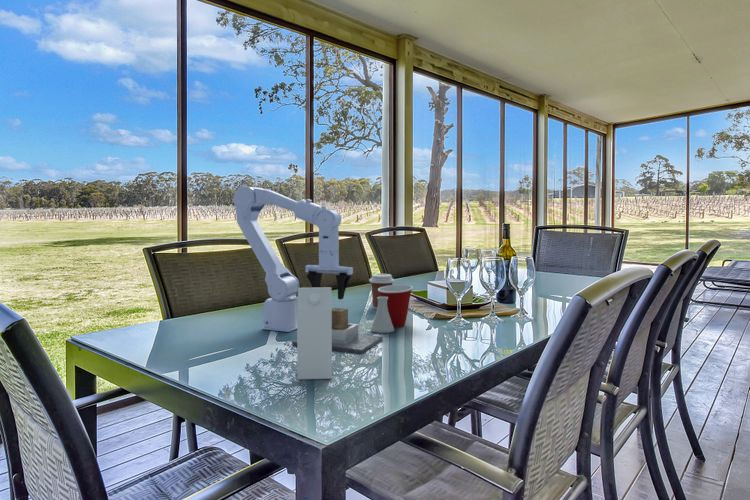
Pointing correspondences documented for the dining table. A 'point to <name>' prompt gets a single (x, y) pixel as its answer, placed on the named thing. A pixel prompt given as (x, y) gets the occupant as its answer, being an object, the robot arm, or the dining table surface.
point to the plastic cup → (397, 302)
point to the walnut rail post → (339, 318)
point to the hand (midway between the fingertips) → (329, 297)
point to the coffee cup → (379, 285)
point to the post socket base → (351, 340)
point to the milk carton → (314, 333)
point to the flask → (382, 318)
